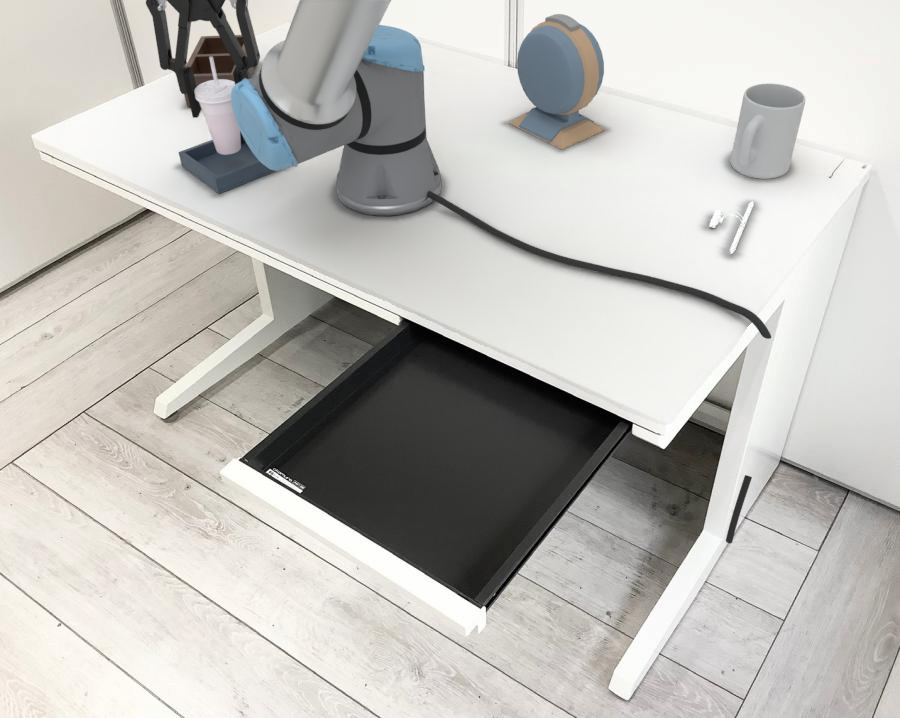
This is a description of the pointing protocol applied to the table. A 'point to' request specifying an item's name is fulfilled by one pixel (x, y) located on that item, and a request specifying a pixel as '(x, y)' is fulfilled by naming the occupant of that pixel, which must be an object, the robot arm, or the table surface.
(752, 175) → the mug
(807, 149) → the table surface
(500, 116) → the table surface
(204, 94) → the smoothie
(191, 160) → the tray
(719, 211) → the picture light
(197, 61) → the rack
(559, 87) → the alarm clock
